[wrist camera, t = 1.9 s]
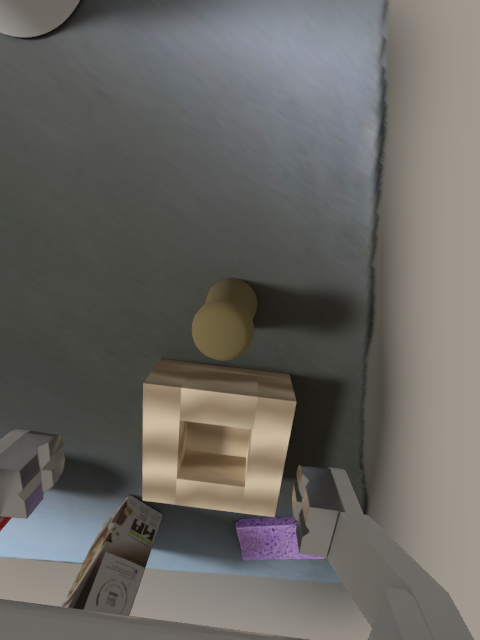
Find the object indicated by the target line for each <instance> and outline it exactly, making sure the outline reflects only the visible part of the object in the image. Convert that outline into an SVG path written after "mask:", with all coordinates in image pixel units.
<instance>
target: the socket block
mask: <svg viewBox="0 0 480 640" xmlns="http://www.w3.org/2000/svg"><path fill="white" fill-rule="evenodd" d="M296 402H297V401H296V398H295V394H294V390H293V386H292V382H291V379H290V375H289V374H284V373H276V372H267V371H259V370H250V369H242V368H234V367H225V366H217V365H208V364H200V363H192V362H183V361H175V360H167V359H161V360H160V362H159V363H158V364H157V366H156V367H155V368H154V370H153V371H152V372H151V374H150V375H149V376H148V377H147V379H146V380H145V381H144V383H143V497H142V501H150V502H158V503H166V504H174V505H182V506H189V507H197V508H205V509H213V510H221V511H229V512H237V513H245V514H253V515H260V516H268V517H275V512H276V506H277V501H278V496H279V491H280V485H281V480H282V475H283V470H284V465H285V459H286V454H287V449H288V444H289V439H290V433H291V428H292V423H293V418H294V413H295V407H296Z"/></svg>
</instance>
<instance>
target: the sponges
mask: <svg viewBox="0 0 480 640" xmlns="http://www.w3.org/2000/svg"><path fill="white" fill-rule="evenodd" d="M297 522H298V521H297V520H296V519H295V518H294V517H283V518H263V519H240V520H239V521H237V522H236V530H237V535H238V539H239V542H240V547H241V551H242V557H243V560H255V559H257V560H265V559H273V558H275V559H288V558H292V559H306V558H310V559H325V557H319V556H312V555H306V554H300V553H299V549H298V543H297V536H296V527H297Z"/></svg>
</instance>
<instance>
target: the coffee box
mask: <svg viewBox="0 0 480 640" xmlns="http://www.w3.org/2000/svg"><path fill="white" fill-rule="evenodd" d="M162 517H163V515H162V514H161V513H160V512H158V511H156V510H155V509H153V508H151V507H150V506H148V505H146V504H145V503H143V502H141V501H139V500H138V499H136V498H135V497H133V496H131V495H129V496H128V497H127V498H126V499H125V500H124V501H123V503H122V504H121V505H120V506H119V507H118V509H117V510H116V511H115V512H114V513H113V515H112V516H111V517H110V518H109V519H108V521H107V522H106V523H105V524H104V525H103V527H102V528H101V530H100V532H99V533H98V535H97V537H96V539H95V541H94V543H93V545H92V547H91V548H90V550H89V552H88V554H87V556H86V558H85V560H84V562H83V564H82V566H81V568H80V570H79V572H78V574H77V575H76V577H75V579H74V581H73V583H72V585H71V587H70V589H69V591H68V593H67V594H66V596H65V598H64V600H63V602H62V604H61V606H60V607H65V608H73V609H80V610H88V611H96V612H103V613H111V614H118V615H126V616H129V615H130V612H131V609H132V606H133V603H134V600H135V597H136V594H137V591H138V588H139V585H140V582H141V579H142V576H143V573H144V570H145V567H146V564H147V561H148V558H149V555H150V552H151V549H152V546H153V543H154V540H155V537H156V534H157V531H158V528H159V525H160V522H161V519H162Z"/></svg>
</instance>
